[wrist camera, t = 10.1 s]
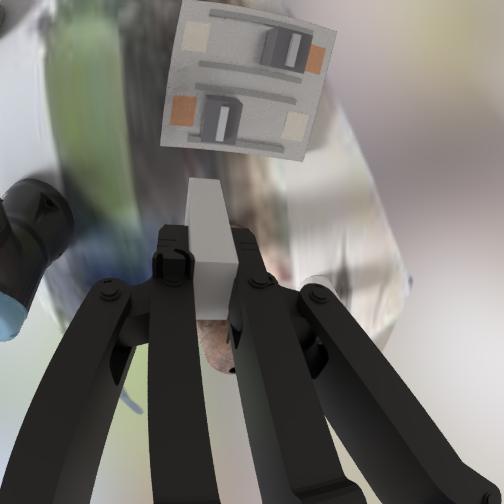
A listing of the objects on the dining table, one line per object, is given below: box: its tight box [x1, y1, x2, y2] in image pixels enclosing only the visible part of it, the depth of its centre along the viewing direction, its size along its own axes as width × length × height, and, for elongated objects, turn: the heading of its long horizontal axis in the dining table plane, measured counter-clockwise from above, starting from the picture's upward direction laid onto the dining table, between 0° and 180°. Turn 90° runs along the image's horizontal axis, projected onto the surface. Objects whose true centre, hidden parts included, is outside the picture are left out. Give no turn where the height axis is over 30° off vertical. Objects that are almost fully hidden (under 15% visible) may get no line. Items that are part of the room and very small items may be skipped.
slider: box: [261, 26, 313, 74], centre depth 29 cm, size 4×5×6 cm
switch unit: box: [160, 0, 337, 162], centre depth 35 cm, size 20×20×4 cm
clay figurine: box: [196, 224, 243, 374], centre depth 41 cm, size 13×10×25 cm
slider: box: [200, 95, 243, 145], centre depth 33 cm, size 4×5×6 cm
